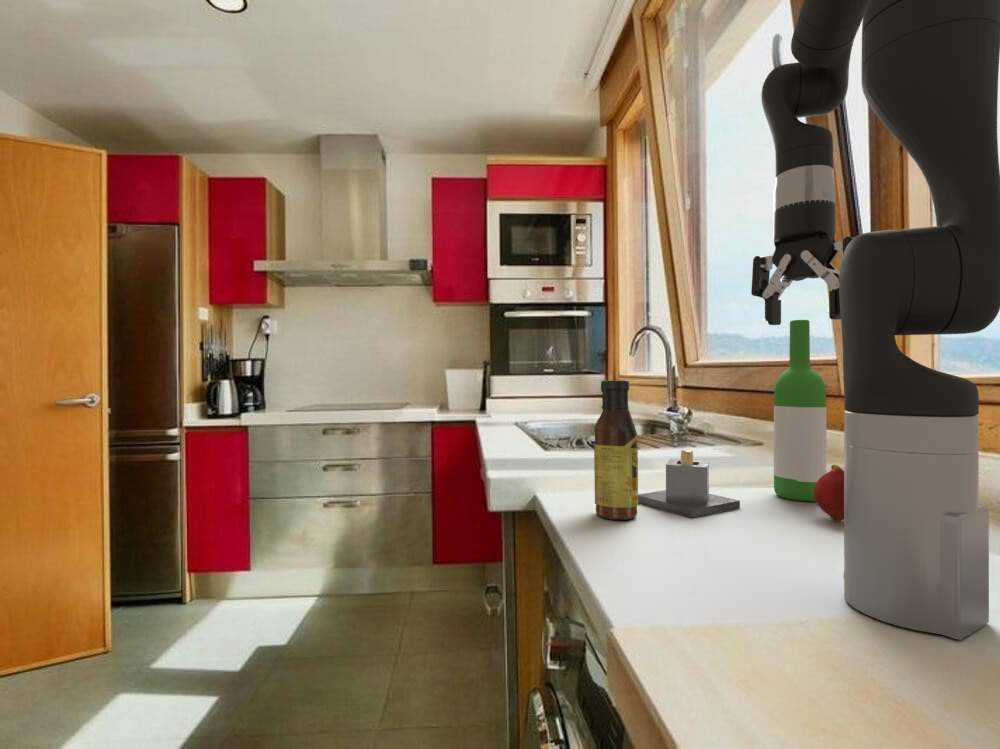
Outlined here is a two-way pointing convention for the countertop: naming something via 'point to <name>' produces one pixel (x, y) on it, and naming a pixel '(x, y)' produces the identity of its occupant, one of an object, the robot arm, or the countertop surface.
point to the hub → (688, 508)
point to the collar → (687, 481)
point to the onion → (831, 493)
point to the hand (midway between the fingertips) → (803, 322)
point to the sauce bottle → (615, 455)
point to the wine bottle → (799, 421)
